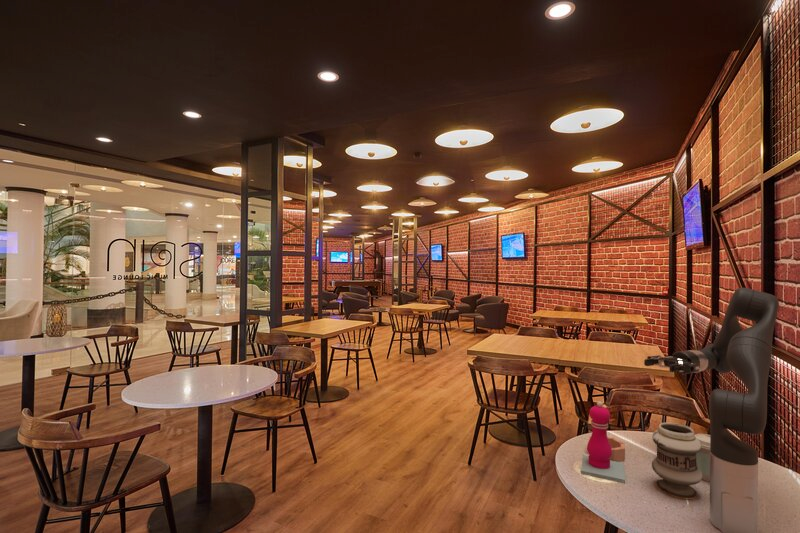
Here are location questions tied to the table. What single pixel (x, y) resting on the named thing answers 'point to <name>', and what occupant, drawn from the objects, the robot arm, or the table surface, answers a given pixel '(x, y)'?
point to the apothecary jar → (676, 460)
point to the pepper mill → (599, 438)
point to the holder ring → (616, 449)
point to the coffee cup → (704, 456)
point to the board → (604, 470)
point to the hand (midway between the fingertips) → (657, 365)
